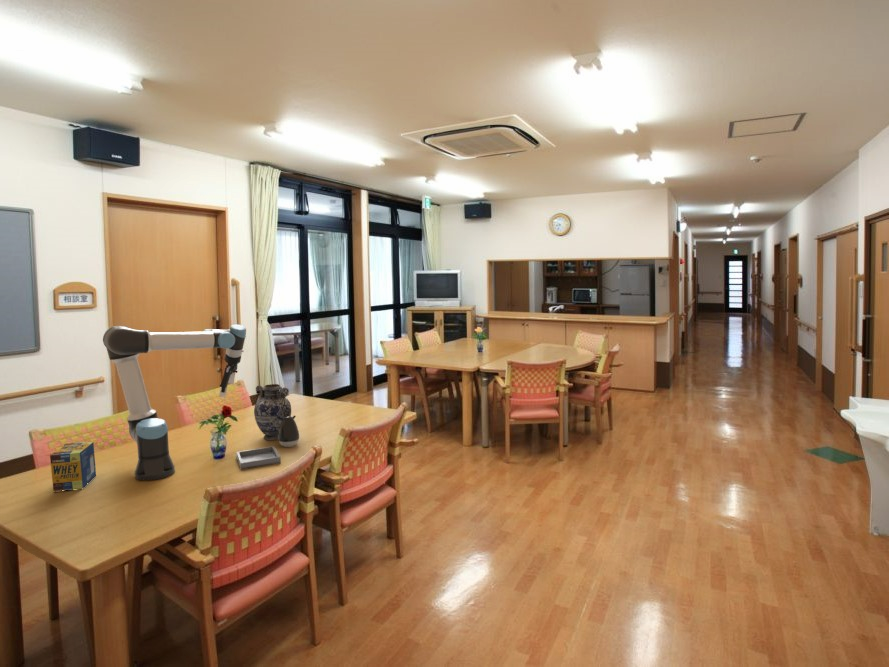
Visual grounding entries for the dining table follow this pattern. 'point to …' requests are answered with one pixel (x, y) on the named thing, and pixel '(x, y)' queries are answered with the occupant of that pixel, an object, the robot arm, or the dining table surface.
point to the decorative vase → (271, 409)
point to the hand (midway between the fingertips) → (226, 389)
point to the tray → (258, 457)
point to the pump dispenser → (288, 432)
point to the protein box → (73, 466)
